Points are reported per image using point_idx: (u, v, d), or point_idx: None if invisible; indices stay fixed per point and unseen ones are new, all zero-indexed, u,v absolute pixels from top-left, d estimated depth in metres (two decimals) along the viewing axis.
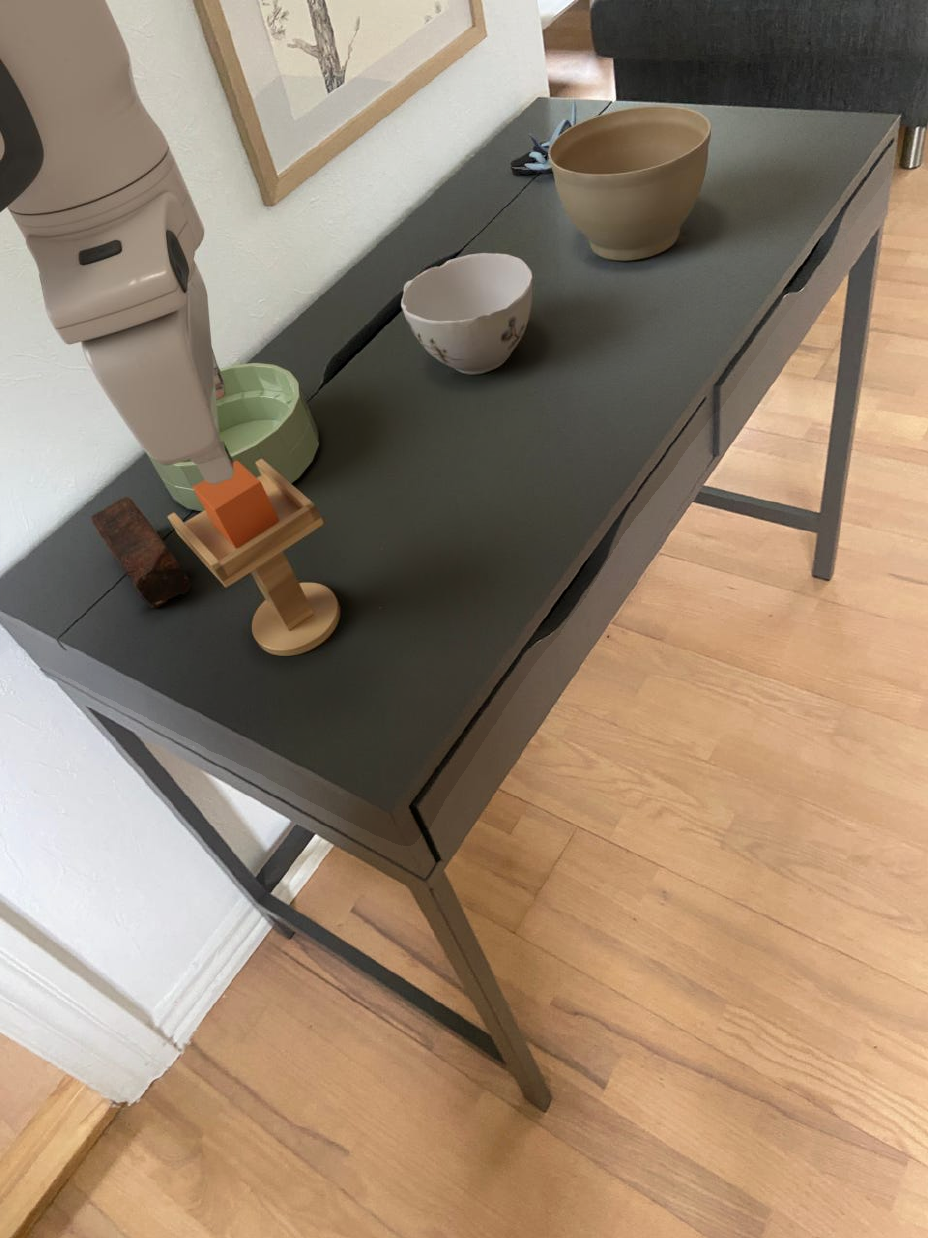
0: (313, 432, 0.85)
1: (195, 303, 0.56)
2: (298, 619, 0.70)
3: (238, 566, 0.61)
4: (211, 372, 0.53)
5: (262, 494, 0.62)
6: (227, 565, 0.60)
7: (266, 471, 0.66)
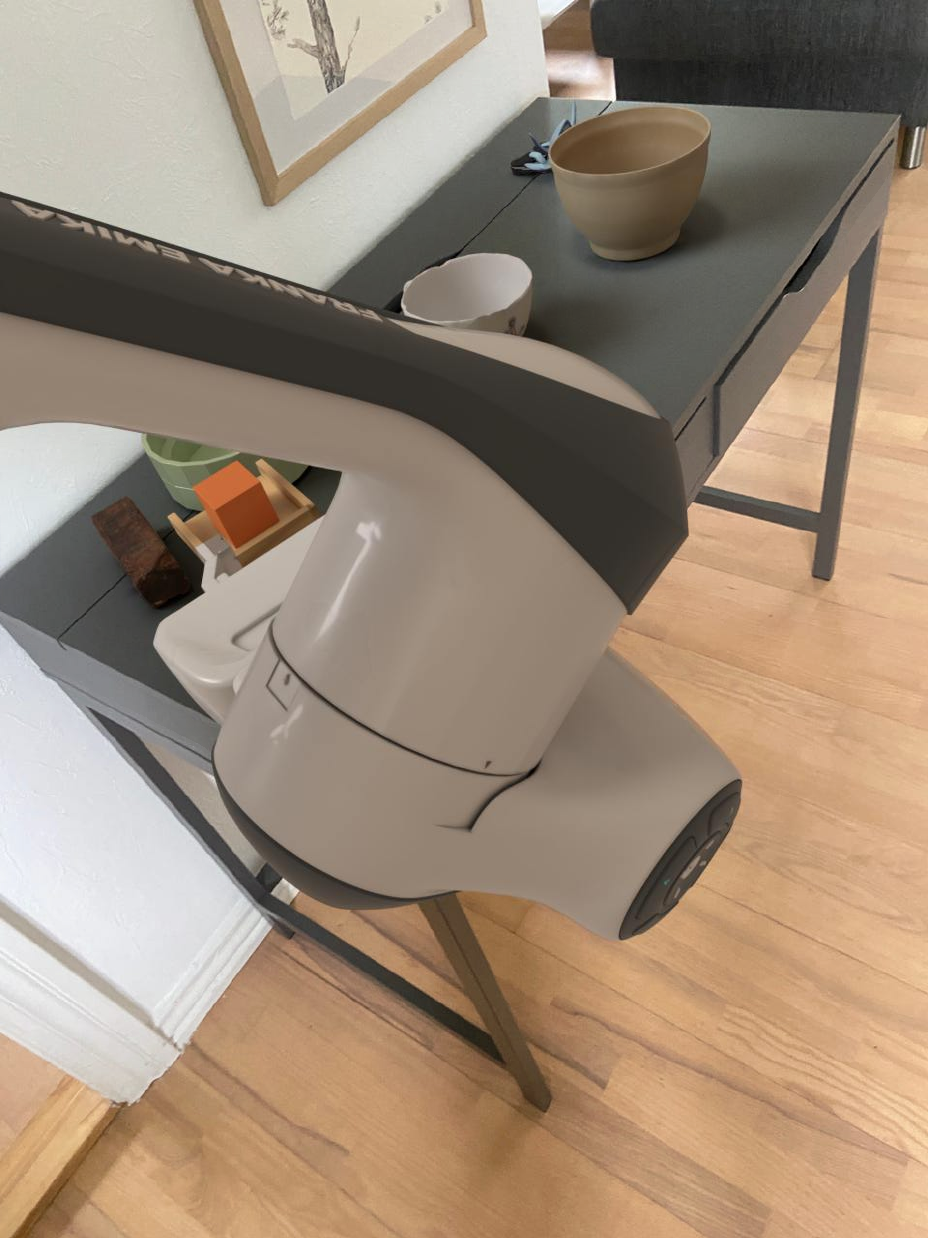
0: None
1: None
2: None
3: None
4: None
5: (262, 494, 0.62)
6: None
7: (266, 471, 0.66)
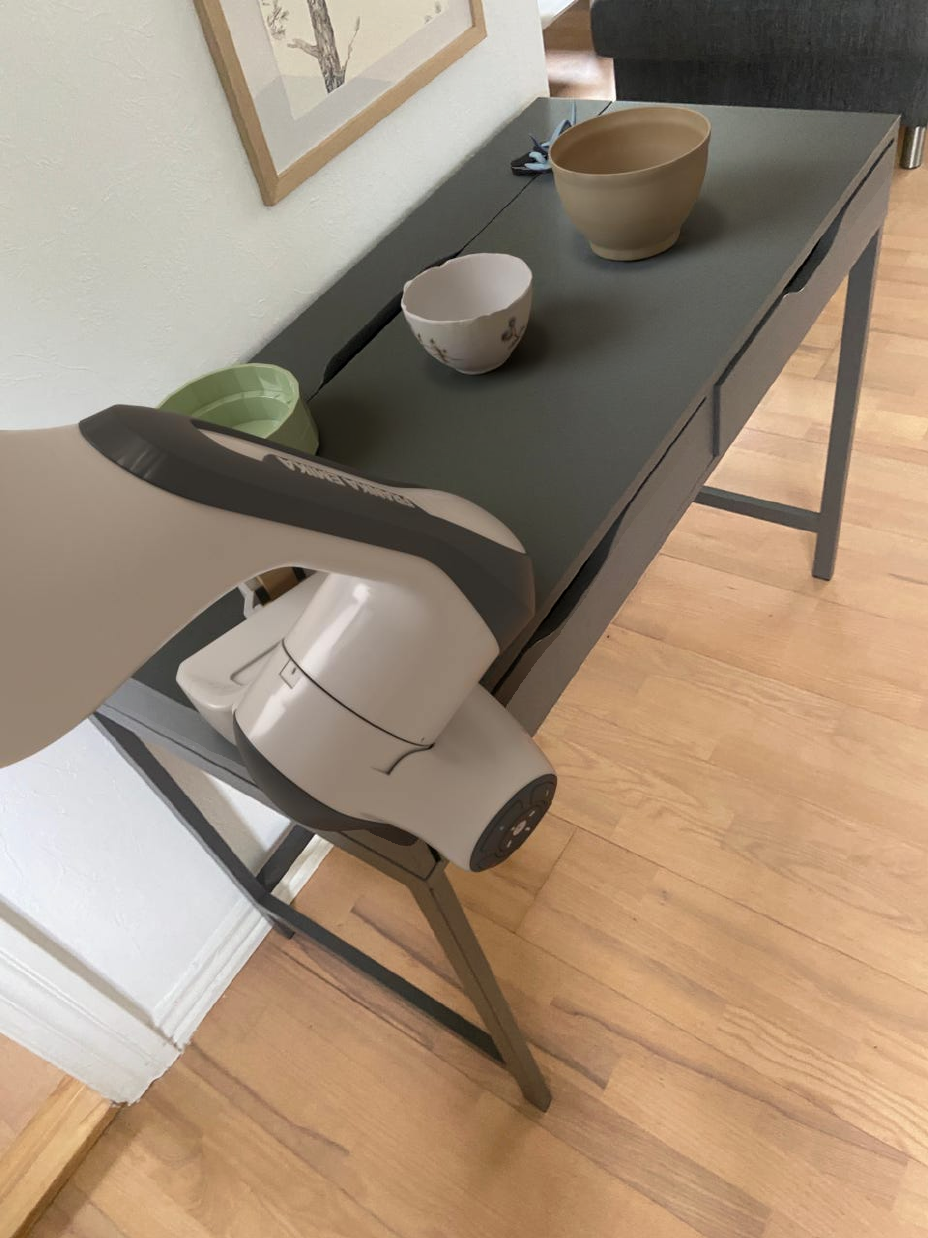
0: (313, 432, 0.85)
1: None
2: None
3: None
4: None
5: None
6: None
7: None
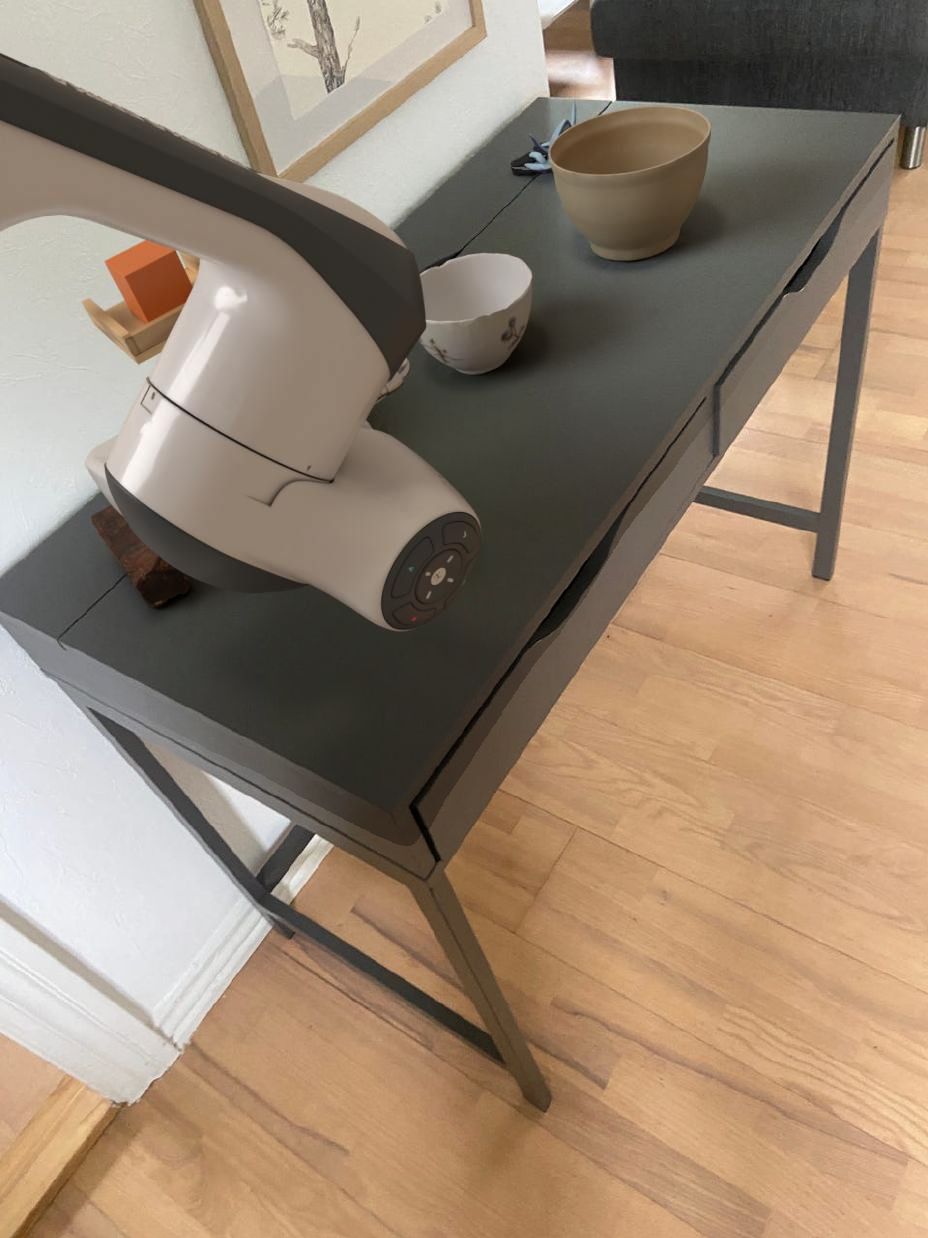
0: None
1: None
2: None
3: (151, 340, 0.56)
4: None
5: (178, 266, 0.57)
6: (138, 337, 0.56)
7: (189, 257, 0.61)
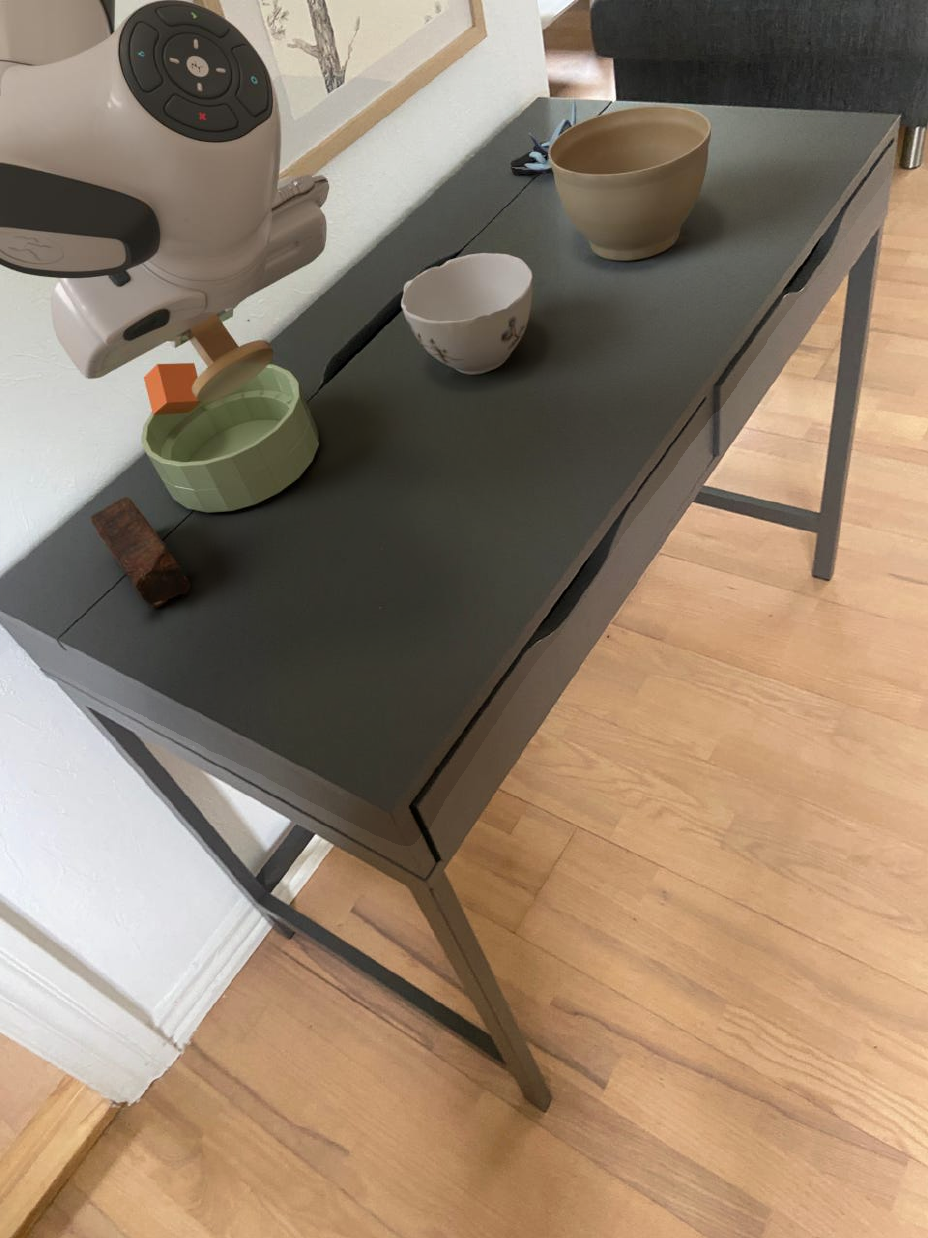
0: (313, 432, 0.85)
1: None
2: None
3: None
4: (177, 332, 0.65)
5: (158, 375, 0.83)
6: None
7: None
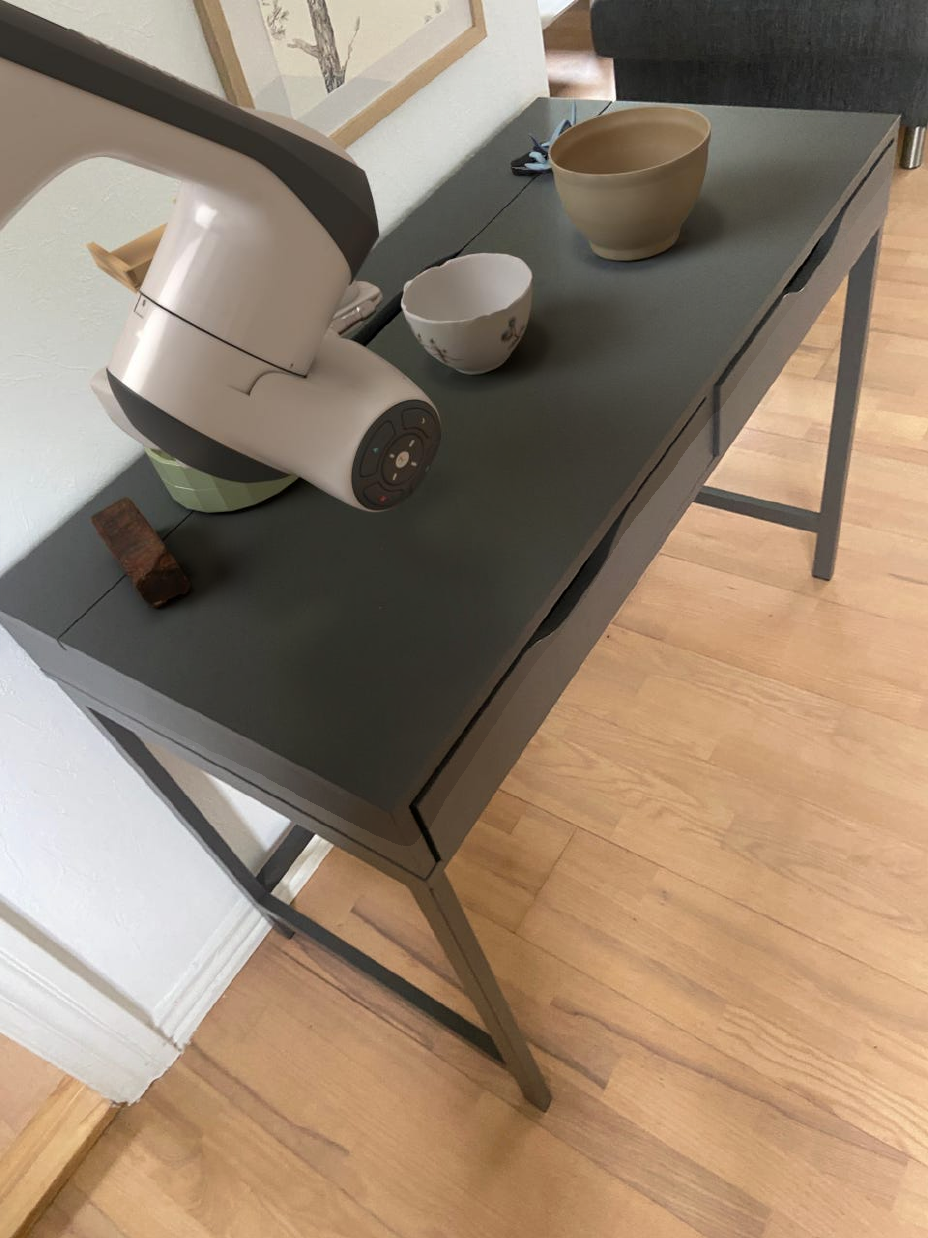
0: None
1: None
2: None
3: None
4: None
5: None
6: (137, 270, 0.62)
7: None
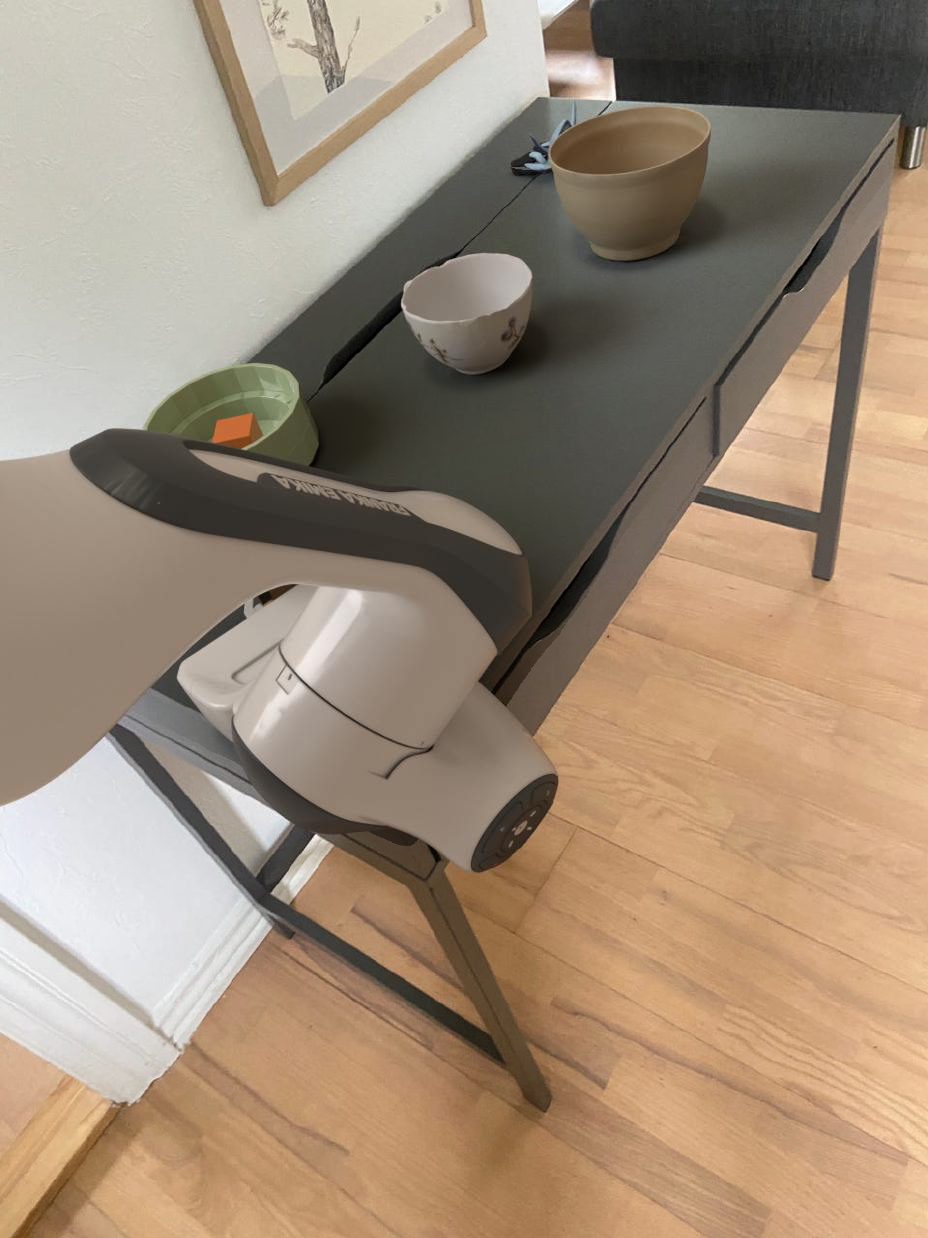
0: (313, 432, 0.85)
1: None
2: None
3: None
4: None
5: None
6: None
7: None
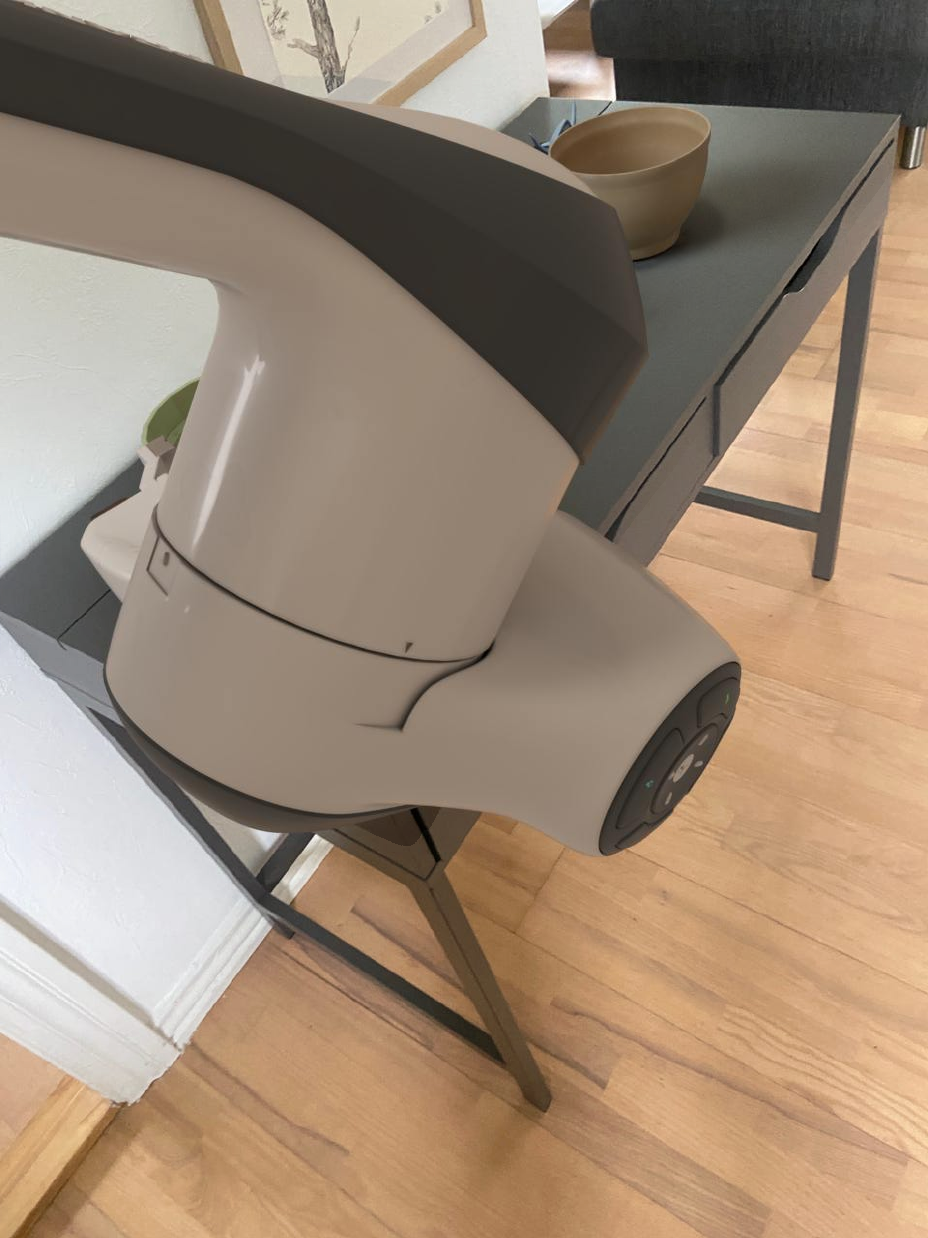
0: None
1: None
2: None
3: None
4: None
5: None
6: None
7: None
